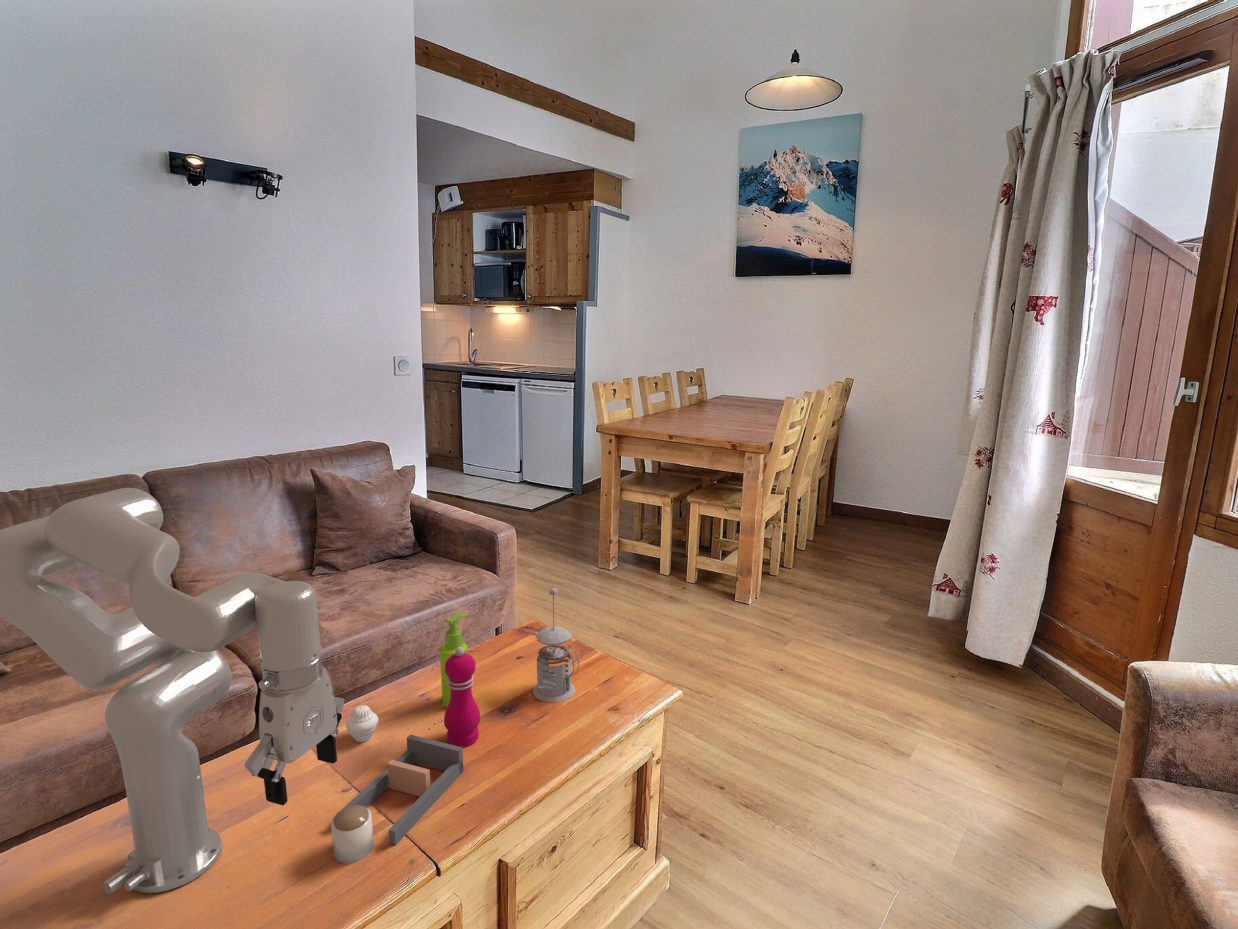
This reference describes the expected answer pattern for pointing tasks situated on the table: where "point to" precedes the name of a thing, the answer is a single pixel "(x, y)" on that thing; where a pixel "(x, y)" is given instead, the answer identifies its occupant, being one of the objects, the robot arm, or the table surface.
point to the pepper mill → (461, 700)
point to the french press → (549, 684)
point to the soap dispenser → (450, 652)
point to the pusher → (408, 778)
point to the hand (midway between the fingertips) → (303, 780)
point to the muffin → (362, 723)
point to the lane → (433, 757)
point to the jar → (352, 834)
